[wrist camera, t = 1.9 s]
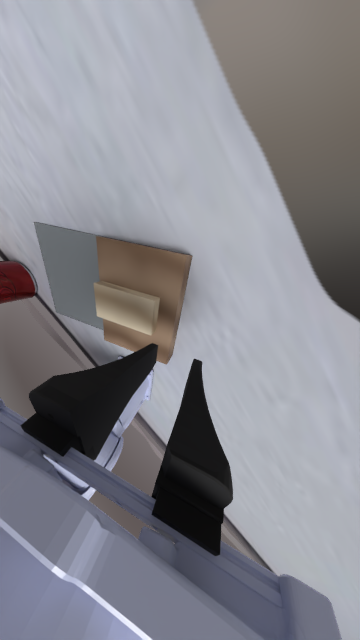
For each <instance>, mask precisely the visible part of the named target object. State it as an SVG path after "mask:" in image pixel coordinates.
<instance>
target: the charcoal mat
mask: <svg viewBox="0 0 360 640" xmlns="http://www.w3.org/2000/svg"><path fill="white" fill-rule="evenodd" d="M34 225H35V229H36V233H37V237H38V241H39V245H40V249H41V253H42V257H43V261H44V265H45V269H46V273H47V277H48V281H49V285H50V289H51V293H52V297H53V301H54V305H55V309H56V312H57V313H60V314H62V315H65V316H67V317H70V318H73V319H75V320H78V321H81V322H83V323H86V324H89V325H91V326H94V327H96V328H99V329H102V330H104V327H103V318H100V317H98V316H97V312H96V302H95V293H94V283H95V282H100V279H99V267H98V255H97V243H96V236H97V235H93V234H88V233H83V232H79V231H74V230H69V229H65V228H60V227H55V226H51V225H46V224H41V223H36V222H34ZM99 237H102V236H99ZM106 238H107V237H106Z"/></svg>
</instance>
